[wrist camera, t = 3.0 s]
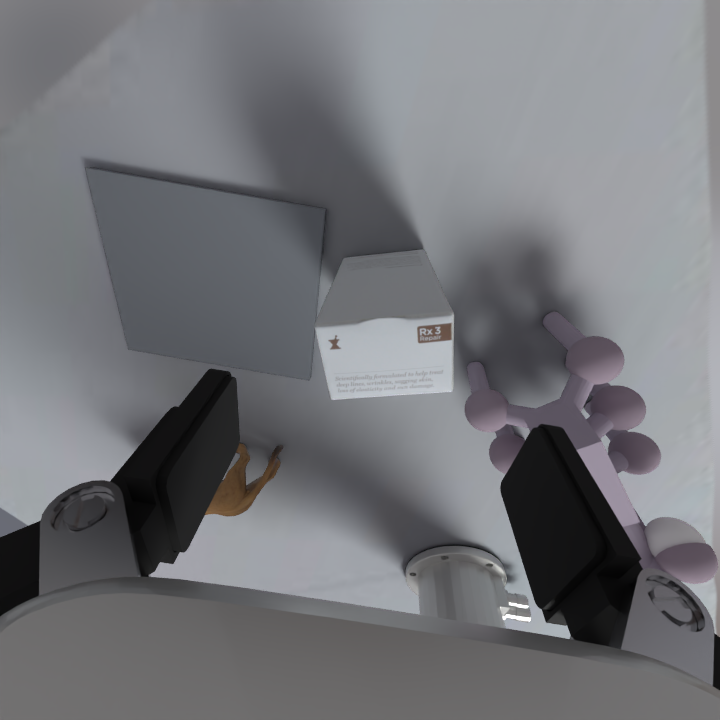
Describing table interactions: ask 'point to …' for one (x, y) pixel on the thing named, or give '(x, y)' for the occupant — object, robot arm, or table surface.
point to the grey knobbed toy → (596, 444)
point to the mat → (211, 272)
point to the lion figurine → (241, 485)
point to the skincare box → (386, 328)
